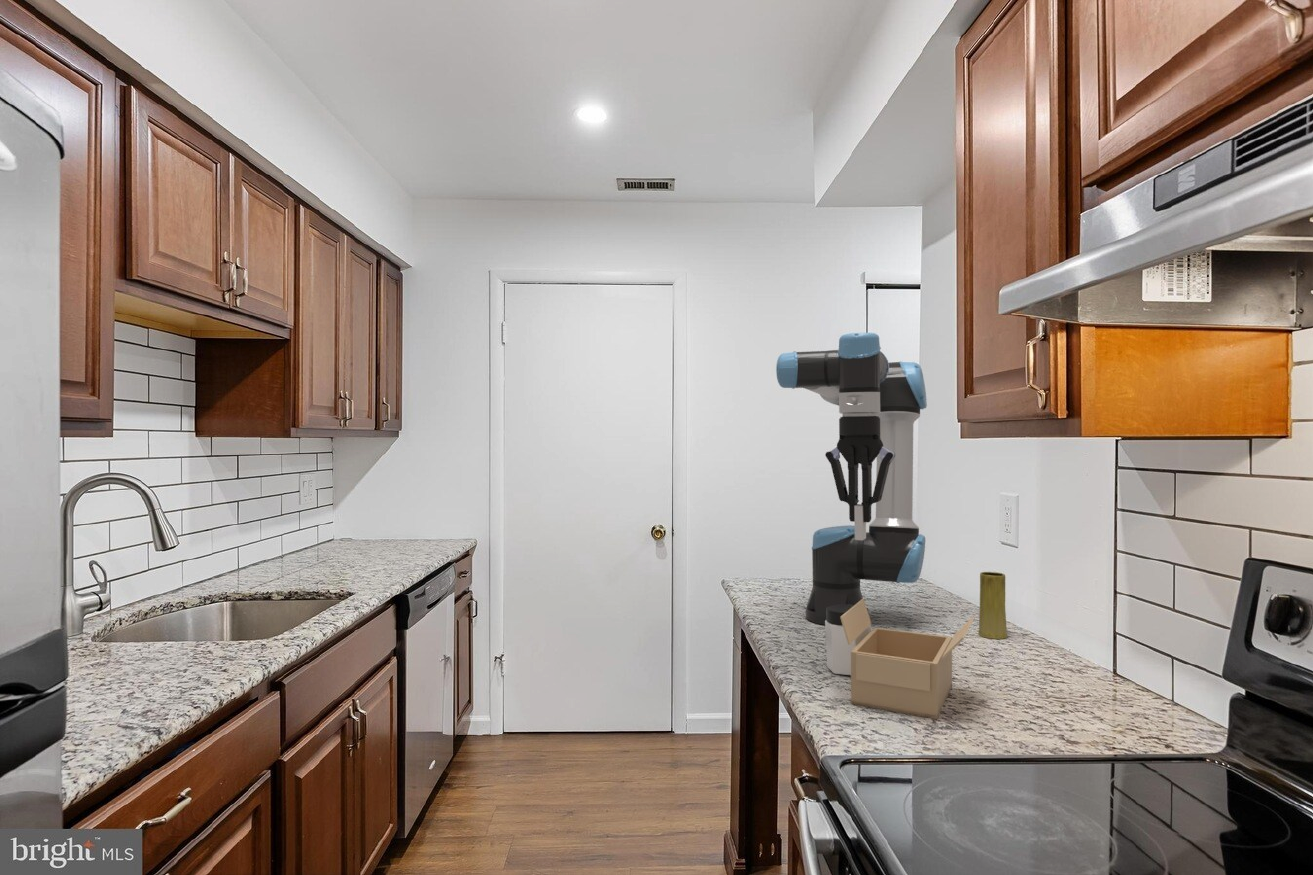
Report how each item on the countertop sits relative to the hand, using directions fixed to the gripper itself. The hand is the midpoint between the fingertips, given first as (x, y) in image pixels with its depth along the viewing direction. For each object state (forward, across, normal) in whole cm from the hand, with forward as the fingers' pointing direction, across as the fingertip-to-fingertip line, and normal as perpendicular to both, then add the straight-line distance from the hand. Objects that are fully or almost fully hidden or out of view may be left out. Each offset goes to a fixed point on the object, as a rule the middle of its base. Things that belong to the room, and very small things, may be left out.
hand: (860, 538), depth 139 cm
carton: (+26, +9, -6) cm, 28 cm away
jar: (+27, -3, +3) cm, 27 cm away
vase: (+28, +19, +43) cm, 55 cm away
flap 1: (+14, +1, -6) cm, 15 cm away
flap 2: (+15, +18, -6) cm, 24 cm away
